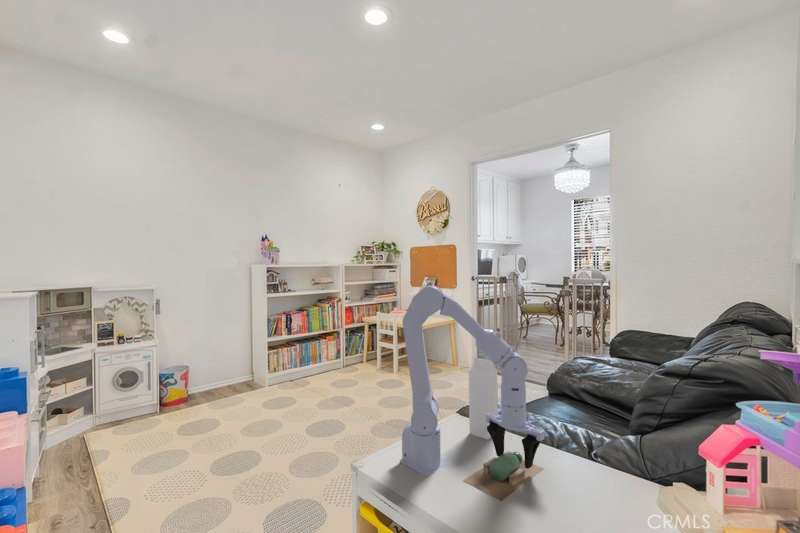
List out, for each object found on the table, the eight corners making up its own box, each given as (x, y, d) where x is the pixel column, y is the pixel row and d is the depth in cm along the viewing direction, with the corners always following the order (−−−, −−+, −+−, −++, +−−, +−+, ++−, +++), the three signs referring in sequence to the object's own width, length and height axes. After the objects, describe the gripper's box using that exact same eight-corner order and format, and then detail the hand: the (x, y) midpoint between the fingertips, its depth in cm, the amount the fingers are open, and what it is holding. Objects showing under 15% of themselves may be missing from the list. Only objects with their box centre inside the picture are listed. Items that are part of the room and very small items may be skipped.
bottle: (490, 456, 85) (512, 443, 92) (488, 474, 86) (510, 460, 92) (506, 466, 82) (528, 452, 88) (504, 485, 83) (526, 469, 89)
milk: (487, 442, 104) (486, 362, 104) (469, 435, 108) (468, 359, 108) (498, 434, 108) (497, 358, 108) (480, 428, 112) (479, 355, 112)
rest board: (462, 483, 84) (462, 472, 84) (506, 455, 96) (506, 446, 96) (501, 503, 77) (501, 492, 77) (543, 471, 89) (543, 460, 89)
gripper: (550, 407, 87) (551, 466, 87) (496, 392, 97) (497, 444, 97) (535, 415, 82) (536, 477, 82) (480, 399, 93) (481, 453, 93)
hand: (514, 460), depth 89 cm, fingers open, 7 cm apart
